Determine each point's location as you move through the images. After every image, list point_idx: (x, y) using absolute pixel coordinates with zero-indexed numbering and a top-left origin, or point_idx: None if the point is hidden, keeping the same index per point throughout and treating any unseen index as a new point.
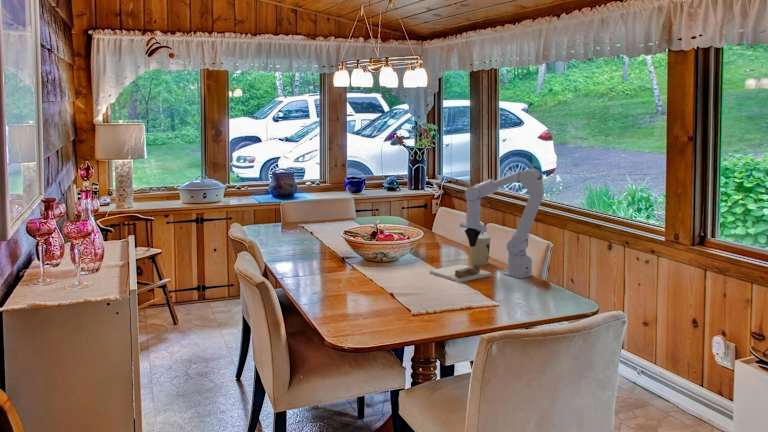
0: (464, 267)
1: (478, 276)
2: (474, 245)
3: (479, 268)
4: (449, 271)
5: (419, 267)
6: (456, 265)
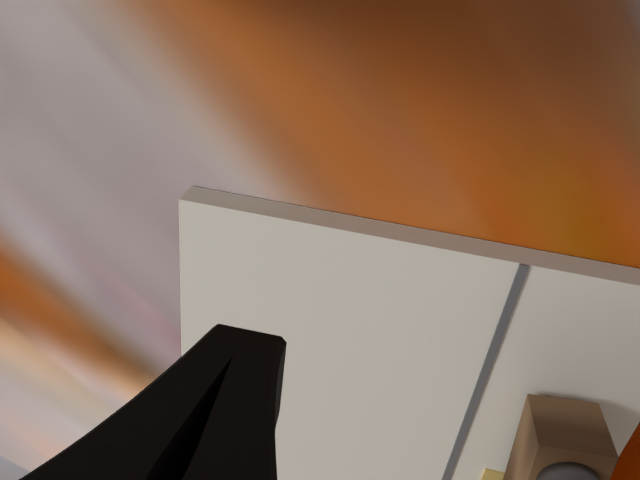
0: (305, 290)
1: (619, 440)
2: (280, 375)
3: (612, 445)
4: (314, 468)
5: (9, 409)
6: (185, 274)
